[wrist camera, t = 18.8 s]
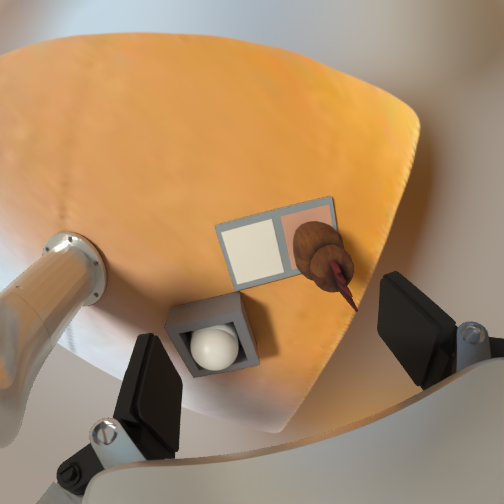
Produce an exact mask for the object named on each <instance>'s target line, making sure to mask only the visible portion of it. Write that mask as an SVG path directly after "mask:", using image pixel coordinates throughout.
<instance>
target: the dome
mask: <svg viewBox="0 0 504 504" xmlns="http://www.w3.org/2000/svg"><path fill="white" fill-rule="evenodd" d="M190 348H191V353H192V356H193V358H194V360H195V361H196V362H197V363H198V364H199V365H200V366H202V367H203V368H205V369H208V370H215V371H216V370H222V369H225V368H227V367H228V366H230V365H231V364H232V363H233V362H234V361H235V359H236V357H237V354H238V348H239V346H238V333H237V330H236V328H235V325H234V322H229V323H225V324H221V325H216V326H212V327H207V328H203V329H198V330H193V331H192V338H191V346H190Z"/></svg>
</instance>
